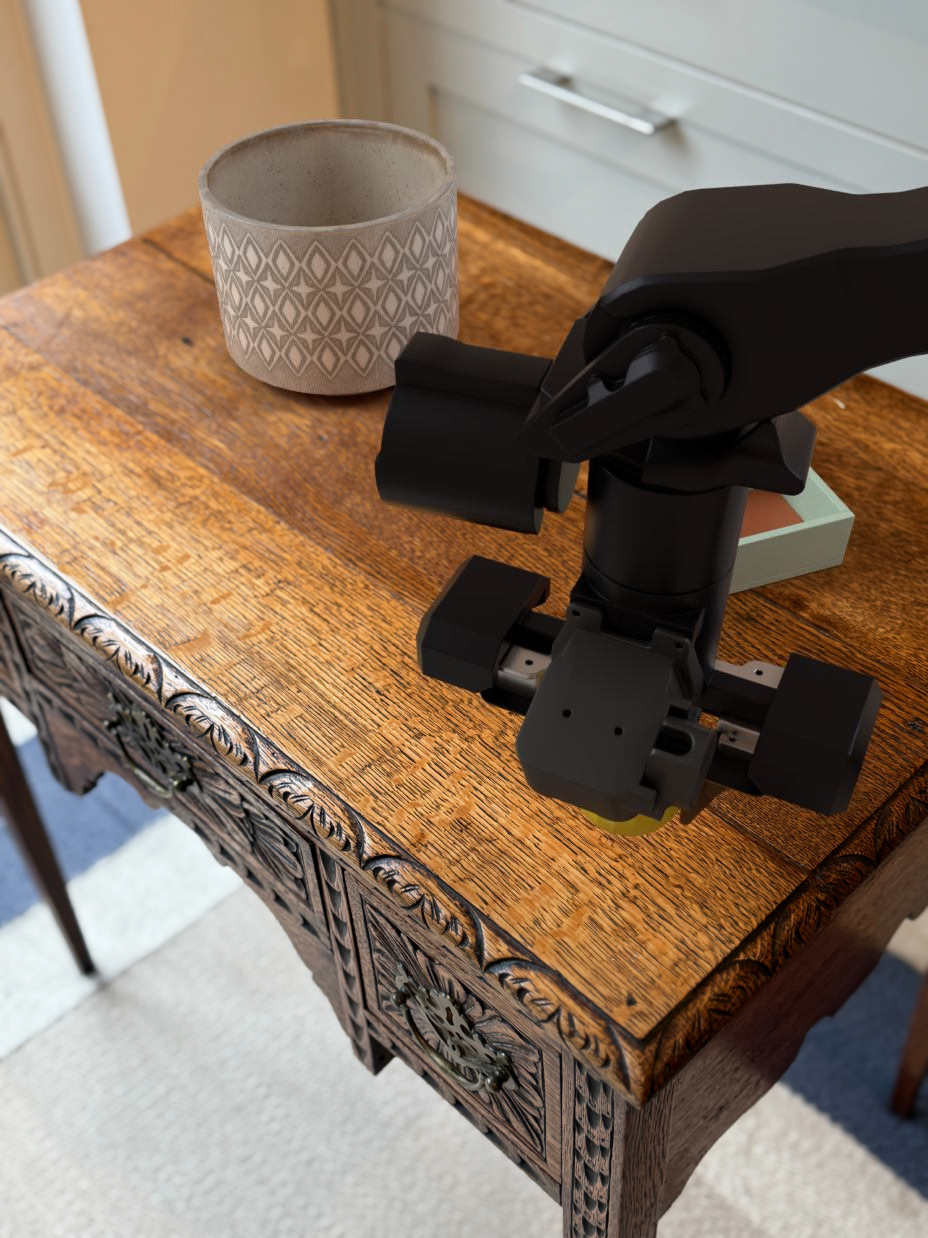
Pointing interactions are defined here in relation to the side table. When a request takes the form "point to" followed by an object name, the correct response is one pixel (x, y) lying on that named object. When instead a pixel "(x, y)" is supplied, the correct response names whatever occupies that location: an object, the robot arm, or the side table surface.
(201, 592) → the side table surface
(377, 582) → the side table surface
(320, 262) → the planter
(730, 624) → the side table surface
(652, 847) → the side table surface
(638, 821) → the fruit
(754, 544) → the compartment tray
